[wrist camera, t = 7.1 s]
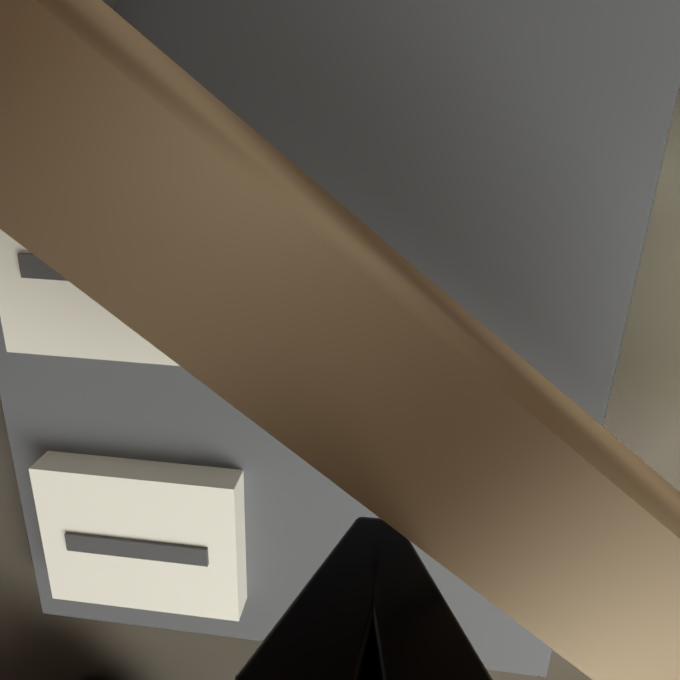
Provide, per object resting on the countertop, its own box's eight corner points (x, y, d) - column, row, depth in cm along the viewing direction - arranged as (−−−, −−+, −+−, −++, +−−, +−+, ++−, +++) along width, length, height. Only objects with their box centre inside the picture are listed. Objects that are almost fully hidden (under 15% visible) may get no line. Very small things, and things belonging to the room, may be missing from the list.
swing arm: (-359, -91, 7) (-671, -173, 5) (-282, -435, 6) (-654, -726, 4) (732, 752, 10) (814, 917, 8) (941, 642, 9) (1104, 805, 7)
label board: (66, 582, 18) (-62, 754, 13) (-66, -179, 11) (-430, -399, 6) (537, 639, 17) (587, 855, 12) (711, -186, 10) (998, -475, 5)
